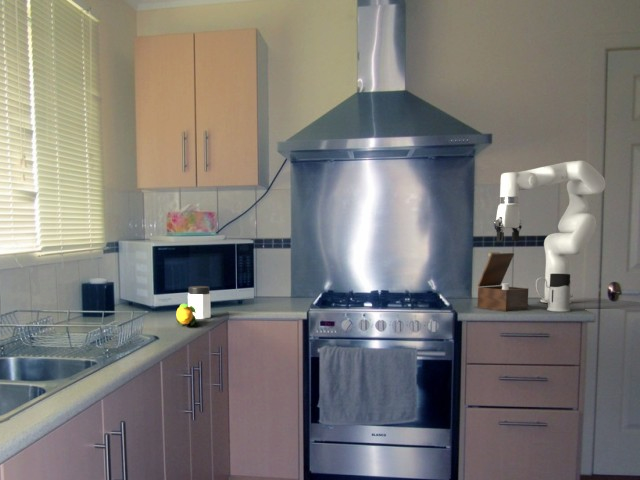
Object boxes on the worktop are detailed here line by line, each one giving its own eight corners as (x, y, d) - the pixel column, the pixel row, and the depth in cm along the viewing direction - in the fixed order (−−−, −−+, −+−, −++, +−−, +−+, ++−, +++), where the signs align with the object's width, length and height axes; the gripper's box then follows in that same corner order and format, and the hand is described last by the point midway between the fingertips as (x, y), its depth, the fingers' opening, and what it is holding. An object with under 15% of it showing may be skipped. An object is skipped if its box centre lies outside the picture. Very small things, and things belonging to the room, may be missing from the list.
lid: (514, 253, 281) (505, 248, 285) (492, 254, 274) (483, 248, 278) (500, 285, 288) (491, 279, 292) (478, 286, 281) (470, 280, 285)
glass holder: (574, 311, 268) (576, 274, 266) (539, 311, 268) (541, 275, 266) (564, 308, 277) (565, 273, 275) (530, 309, 277) (531, 273, 275)
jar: (199, 315, 264) (199, 285, 262) (214, 317, 258) (214, 286, 257) (183, 317, 257) (183, 287, 255) (199, 319, 252) (198, 288, 250)
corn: (194, 300, 247) (196, 306, 227) (196, 320, 248) (198, 328, 228) (175, 302, 246) (174, 308, 227) (176, 322, 247) (176, 330, 227)
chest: (527, 309, 277) (528, 288, 276) (505, 311, 270) (506, 290, 269) (499, 305, 289) (499, 285, 288) (477, 307, 283) (478, 287, 282)
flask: (510, 306, 281) (510, 282, 280) (516, 308, 274) (517, 284, 273) (493, 306, 281) (493, 282, 280) (499, 308, 274) (500, 284, 273)
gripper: (515, 202, 290) (513, 241, 292) (488, 201, 282) (486, 241, 284) (530, 201, 284) (528, 241, 286) (502, 201, 275) (501, 241, 277)
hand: (507, 241), depth 285 cm, fingers open, 9 cm apart
